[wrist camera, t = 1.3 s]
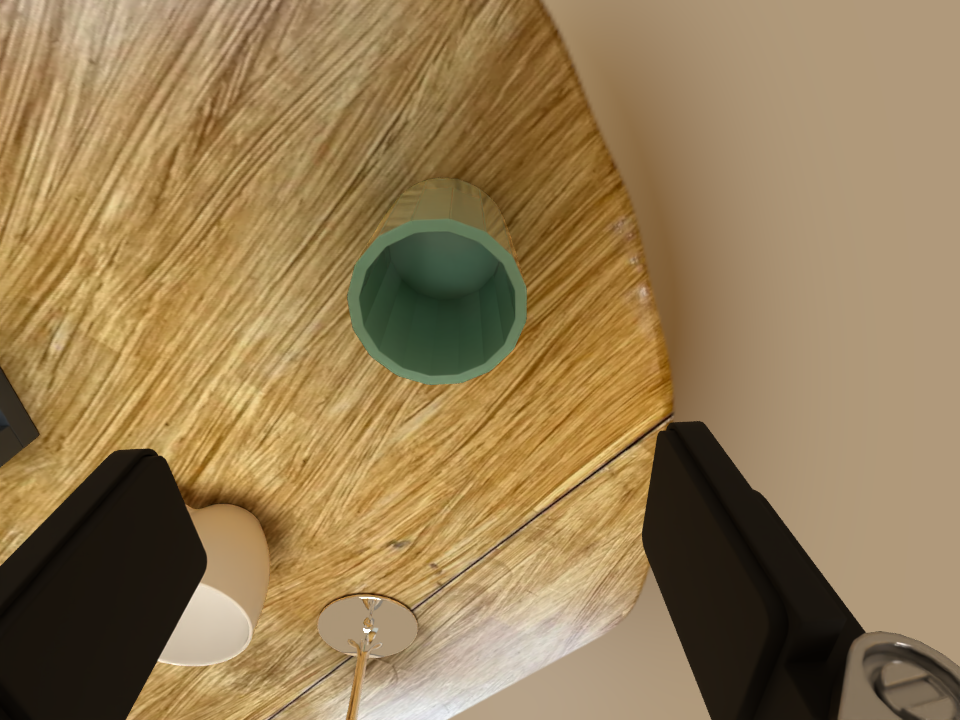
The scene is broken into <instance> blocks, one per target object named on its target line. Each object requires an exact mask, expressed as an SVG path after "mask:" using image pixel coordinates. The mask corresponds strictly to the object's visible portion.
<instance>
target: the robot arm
mask: <svg viewBox="0 0 960 720" xmlns="http://www.w3.org/2000/svg"><path fill="white" fill-rule="evenodd" d="M642 541H643V546H644V550H645V553H646V555H647V558H648V561H649V563H650V566H651V568H652V571H653V573H654V576H655V578H656V581H657V583H658V586H659V588H660V591H661V593H662V596H663V598H664V601H665V604H666V606H667V609H668V611H669V614H670V616H671V619H672V621H673V624H674V626H675V628H676V631H677V634H678V636H679V639H680V641H681V644H682V646H683V649H684V652H685V654H686V657H687V659H688V662H689V664H690V667H691V669H692V672H693V674H694V677H695V679H696V681H697V684H698V687H699V689H700V692H701V694H702V697H703V699H704V702H705V705H706V707H707V710H708V712H709V715H710V717H711V719H712V720H960V667H959V666H958V665H956V664H955V663H954V662H953V661H951V660H950V659H949V658H947V657H946V656H945V655H943V654H942V653H940V652H938V651H936V650H935V649H933V648H931V647H929V646H927V645H926V644H924V643H922V642H920V641H917V640H915V639H912V638H909V637H906V636H903V635H901V634H896V633H889V632H882V631H878V632H871V633H866V632H865V631H864V630H863V628H862V627H861V625H860V624H859V623H858V621H857V620H856V619H855V618H854V616H853V615H852V613H851V612H850V611H849V609H848V608H847V607H846V605H845V604H844V603H843V601H842V600H841V599H840V597H839V596H838V595H837V593H836V592H835V591H834V589H833V588H832V587H831V585H830V584H829V583H828V581H827V580H826V579H825V577H824V576H823V575H822V573H821V572H820V571H819V569H818V568H817V567H816V565H815V564H814V563H813V561H812V560H811V559H810V557H809V556H808V555H807V553H806V552H805V550H804V549H803V548H802V546H801V545H800V544H799V543H798V541H797V540H796V538H795V537H794V536H793V534H792V533H791V532H790V530H789V529H788V528H787V526H786V525H785V524H784V522H783V521H782V520H781V518H780V517H779V516H778V514H777V513H776V512H775V510H774V509H773V508H772V506H771V505H770V504H769V502H768V501H767V500H766V498H764V496H763V495H762V494H761V493H759V492H758V491H756V490H753V489H752V488H751V487H750V485H749V484H748V483H747V481H746V480H745V478H744V477H743V475H742V474H741V473H740V471H739V470H738V469H737V467H736V466H735V464H734V463H733V462H732V460H731V459H730V458H729V456H728V455H727V454H726V452H725V451H724V449H723V448H722V447H721V445H720V444H719V443H718V441H717V440H716V439H715V437H714V436H713V434H712V433H711V432H710V430H709V429H708V428H707V426H706V425H705V424H704V423H703V422H700V421H694V422H673V423H670V424H669V425H668V426H667V429H666V431H660V432H659V433H658V436H657V441H656V448H655V454H654V460H653V467H652V473H651V479H650V485H649V492H648V498H647V504H646V511H645V517H644V523H643V529H642ZM206 567H207V554H206V551H205V549H204V547H203V544H202V542H201V540H200V537H199V535H198V533H197V530H196V528H195V526H194V523H193V521H192V519H191V516H190V514H189V512H188V510H187V507H186V505H185V503H184V500H183V498H182V496H181V493H180V491H179V489H178V486H177V484H176V482H175V479H174V477H173V475H172V472H171V470H170V468H169V465H168V463H167V461H166V459H165V458H164V457H162V456H158V454H157V453H156V452H155V451H154V450H153V449H129V450H118V451H114V452H113V453H112V454H110V455H109V456H108V457H107V458H106V459H105V460H104V461H103V462H102V463H101V464H100V465H99V466H98V467H97V468H96V469H95V470H94V471H93V472H92V473H91V474H90V475H89V476H88V477H87V478H86V479H85V481H84V482H83V483H82V484H81V485H80V486H79V487H78V488H77V489H76V490H75V491H74V492H73V493H72V494H71V495H70V496H69V497H68V498H67V499H66V500H65V501H64V502H63V503H62V504H61V505H60V506H59V507H58V508H57V509H56V510H55V511H54V512H53V513H52V514H51V515H50V516H49V517H48V518H47V519H46V520H45V521H44V522H43V523H42V524H41V525H40V526H39V527H38V528H37V529H36V530H35V531H34V532H33V533H32V534H31V536H30V537H29V538H28V539H27V540H26V541H25V542H24V543H23V544H22V545H21V546H20V547H19V548H18V549H17V550H16V551H15V552H14V553H13V554H12V555H11V556H10V557H9V558H8V559H7V560H6V561H5V562H4V563H3V564H2V565H1V566H0V720H126V718H127V716H128V714H129V712H130V711H131V709H132V707H133V705H134V703H135V701H136V700H137V698H138V696H139V694H140V692H141V690H142V688H143V687H144V685H145V683H146V681H147V679H148V677H149V675H150V674H151V672H152V670H153V668H154V666H155V664H156V663H157V661H158V659H159V657H160V655H161V653H162V651H163V650H164V648H165V646H166V644H167V642H168V640H169V639H170V637H171V635H172V633H173V631H174V629H175V627H176V626H177V624H178V622H179V620H180V618H181V616H182V614H183V613H184V611H185V609H186V607H187V605H188V603H189V602H190V600H191V598H192V596H193V594H194V592H195V590H196V589H197V587H198V585H199V583H200V581H201V579H202V577H203V576H204V573H205V571H206Z"/></svg>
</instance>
